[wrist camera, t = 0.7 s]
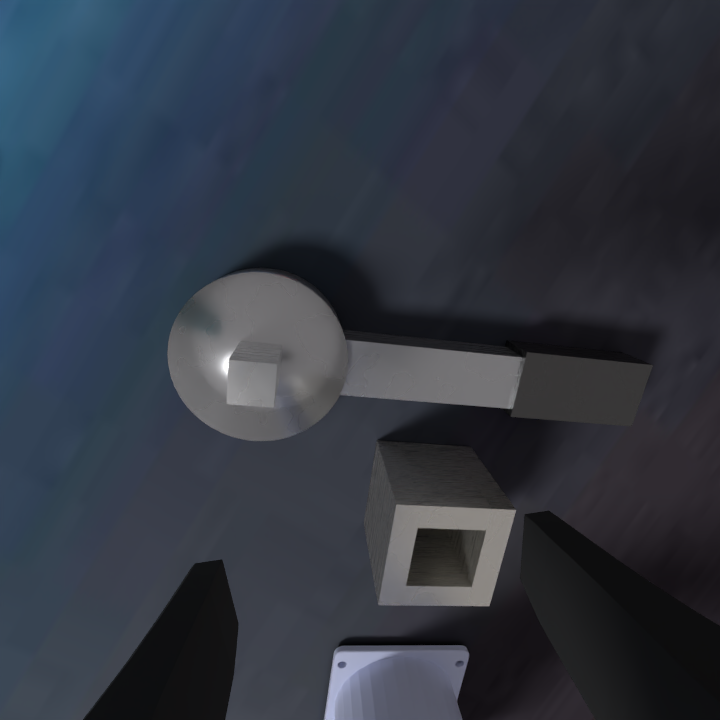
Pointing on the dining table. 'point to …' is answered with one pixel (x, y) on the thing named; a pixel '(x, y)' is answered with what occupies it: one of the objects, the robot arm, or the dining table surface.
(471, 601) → the socket
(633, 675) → the robot arm
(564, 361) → the ratchet
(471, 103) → the dining table surface
